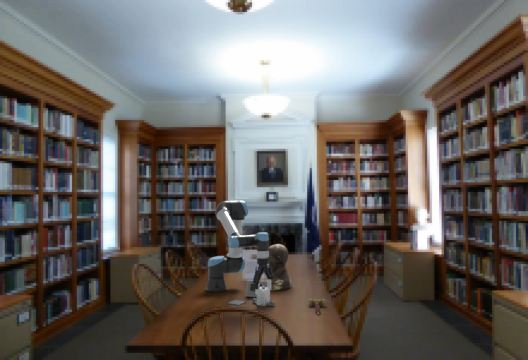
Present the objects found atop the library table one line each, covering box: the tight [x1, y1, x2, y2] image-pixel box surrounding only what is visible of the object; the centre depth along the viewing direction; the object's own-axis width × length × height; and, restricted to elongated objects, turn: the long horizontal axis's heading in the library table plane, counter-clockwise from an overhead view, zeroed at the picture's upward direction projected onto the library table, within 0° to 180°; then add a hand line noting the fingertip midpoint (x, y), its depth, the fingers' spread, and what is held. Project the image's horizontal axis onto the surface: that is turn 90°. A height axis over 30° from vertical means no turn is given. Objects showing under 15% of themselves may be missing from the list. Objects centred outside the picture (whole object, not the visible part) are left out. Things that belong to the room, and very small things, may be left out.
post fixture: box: [252, 297, 275, 307], centre depth 241 cm, size 15×2×8 cm, turn 58°
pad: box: [227, 299, 246, 307], centre depth 244 cm, size 8×8×1 cm
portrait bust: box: [268, 243, 292, 291], centre depth 294 cm, size 21×35×31 cm, turn 173°
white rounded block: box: [254, 286, 272, 307], centre depth 241 cm, size 12×6×11 cm, turn 58°
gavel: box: [308, 298, 326, 316], centre depth 228 cm, size 21×5×10 cm
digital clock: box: [245, 279, 267, 299], centre depth 260 cm, size 16×9×11 cm, turn 60°
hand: (263, 292), depth 240 cm, fingers open, 13 cm apart
